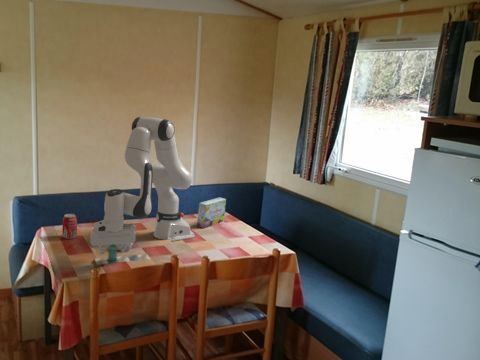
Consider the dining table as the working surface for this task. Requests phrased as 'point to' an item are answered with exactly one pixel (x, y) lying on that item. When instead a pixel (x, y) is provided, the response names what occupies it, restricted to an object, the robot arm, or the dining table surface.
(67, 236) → the soda can
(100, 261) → the track
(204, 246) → the dining table surface
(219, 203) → the snack box
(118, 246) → the die
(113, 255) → the pawn
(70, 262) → the dining table surface
